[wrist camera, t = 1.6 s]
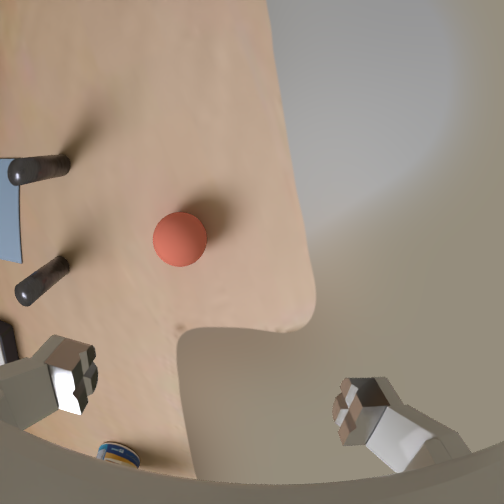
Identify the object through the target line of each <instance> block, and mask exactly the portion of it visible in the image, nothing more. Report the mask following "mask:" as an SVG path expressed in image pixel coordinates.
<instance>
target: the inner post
mask: <svg viewBox="0 0 504 504" xmlns="http://www.w3.org/2000/svg"><path fill="white" fill-rule="evenodd" d="M69 169H70V160H69V158H68V157H67V156H66V155H64V154H61V155H48V156H37V157H27V158H18V159H14V160H12V161H11V163H10V164H9V167H8V171H7V175H8V179H9V181H10V183H11V184H12V185H14V186H19V185H23V184H28V183H32V182H36V181H41V180H46V179H50V178H55V177H60V176H64V175H66V174H67V173H68V171H69Z"/></svg>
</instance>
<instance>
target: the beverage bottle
mask: <svg viewBox="0 0 504 504" xmlns="http://www.w3.org/2000/svg"><path fill="white" fill-rule="evenodd" d="M96 458H98V459H101V460H105V461H108V462H112V463H116V464H120V465H123V466H128V467H132V468H136V469H138V468H139V464H140V459H139V457H138V455H137V454H136V453H135V452H134V451H132V450H131V449H129V448H128V447H126V446H123V445H121V444H117V443H112V442H108V443H104V444H102V445H101V446H100V448H99V450H98V454H97V457H96Z"/></svg>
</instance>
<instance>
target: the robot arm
mask: <svg viewBox="0 0 504 504" xmlns="http://www.w3.org/2000/svg"><path fill="white" fill-rule="evenodd" d="M95 357H96V353H95V348H94V347H93V345H90V344H86V343H82V342H79V341H75V340H72V339H69V338H65V337H62V336H58V335H52V336H51V337H50V338H49V339H48V340H47V341H46V342H45V343H44V344H43V345H42V346H41V347H40V349H39V350H38V351H37V352H36V353H35V354H34V355H33V356H32V357H31V358H27V357H26V358H23V359H20V360H17V361H14V362H10V363H7V364H4V365H1V366H0V504H504V441H503V442H500V443H498V444H495V445H493V446H490V447H488V448H485V449H482V450H480V451H477V452H474V453H471V451H470V450H469V448H468V447H467V445H466V444H465V442H464V441H463V439H462V438H461V437H460V435H459V434H458V432H456V431H454V430H452V429H450V428H448V427H447V426H445V425H443V424H441V423H439V422H438V421H436V420H434V419H432V418H430V417H429V416H427V415H425V414H423V413H422V412H420V411H418V410H416V409H415V408H413V407H411V406H409V405H404V404H403V402H402V401H401V399H400V397H399V396H398V394H397V393H396V391H395V390H394V388H393V386H392V385H391V383H390V382H389V380H388V379H387V378H386V377H371V378H345V379H344V380H343V381H342V383H341V386H340V389H341V391H342V393H340V394H339V395H338V396H337V397H336V398H335V401H334V404H333V410H332V413H333V419H334V422H335V423H336V424H337V425H339V426H340V429H339V431H338V434H339V436H340V439H341V442H342V445H343V446H352V445H366V446H367V447H368V448H369V449H370V450H371V451H372V452H373V453H374V454H375V455H376V456H378V457H379V458H380V459H381V460H382V461H383V462H384V463H386V464H387V465H388V466H389V467H390V468H391V469H392V470H394V471H395V472H396V473H395V474H390V475H385V476H379V477H372V478H366V479H358V480H350V481H340V482H330V483H315V484H289V485H267V484H265V485H264V484H241V483H226V482H215V481H206V480H198V479H190V478H183V477H177V476H171V475H165V474H160V473H155V472H150V471H145V470H140V469H136V468H132V467H128V466H123V465H120V464H116V463H112V462H108V461H105V460H101V459H98V458H95V457H92V456H88V455H85V454H82V453H79V452H76V451H73V450H70V449H68V448H65V447H62V446H59V445H57V444H54V443H52V442H49V441H47V440H44V439H42V438H39V437H37V436H35V435H32V434H30V433H28V432H26V431H23V430H25V429H26V428H28V427H30V426H32V425H33V424H35V423H37V422H38V421H40V420H42V419H43V418H45V417H47V416H48V415H50V414H52V413H53V412H55V411H57V410H58V408H59V409H63V410H66V411H69V412H72V413H76V414H79V415H82V413H83V411H84V409H85V407H86V405H87V403H88V398H87V396H89V395H91V394H93V392H94V390H95V388H96V385H97V381H98V369H97V366H96V365H95V363H94V362H93V360H94V359H95Z"/></svg>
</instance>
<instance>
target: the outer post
mask: <svg viewBox="0 0 504 504" xmlns="http://www.w3.org/2000/svg"><path fill="white" fill-rule="evenodd" d="M68 272H69V263H68V261H67V260H66V259H65V258H64V257H62V256H57V257H56V258H54V259H53V260H51V261H50V262H48V263H47V264H45V265H44V266H43V267H41V268H40V269H38V270H37V271H35V272H34V273H33V274H31V275H30V276H28V277H27V278H26V279H24V280H23V281H21V282H20V283H19V284H17V285H16V287H15V296H16V298H17V300H18V301H19V303H20V304H22V305H23V306H30V305H31V304H32V303H33V302H35V301H36V300H37V299H38V298H39V297H40V296H41V295H43V294H44V293H45V292H46V291H47V290H48V289H50V288H51V287H52V286H53V285H54V284H56V283H57V282H58V281H59V280H60V279H62V278H63V277H64V276H65V275H66V274H68Z"/></svg>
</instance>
